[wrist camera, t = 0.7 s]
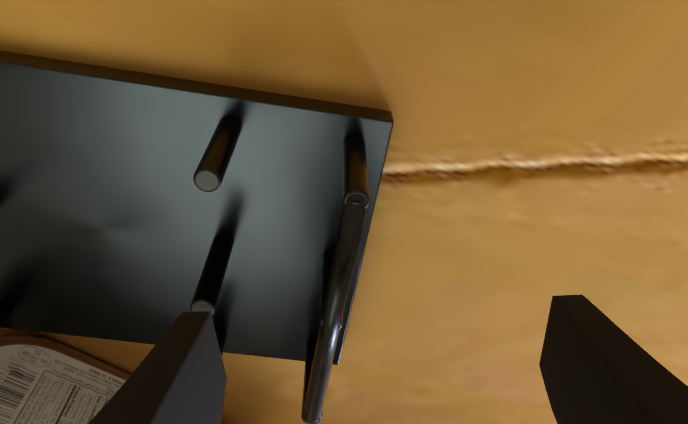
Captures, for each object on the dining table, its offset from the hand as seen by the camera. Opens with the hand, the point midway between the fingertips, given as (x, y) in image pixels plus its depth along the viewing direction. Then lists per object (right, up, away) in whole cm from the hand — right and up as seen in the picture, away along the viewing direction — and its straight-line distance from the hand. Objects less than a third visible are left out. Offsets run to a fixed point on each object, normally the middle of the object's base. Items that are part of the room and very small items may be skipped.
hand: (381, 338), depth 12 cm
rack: (-10, +3, +10) cm, 14 cm away
